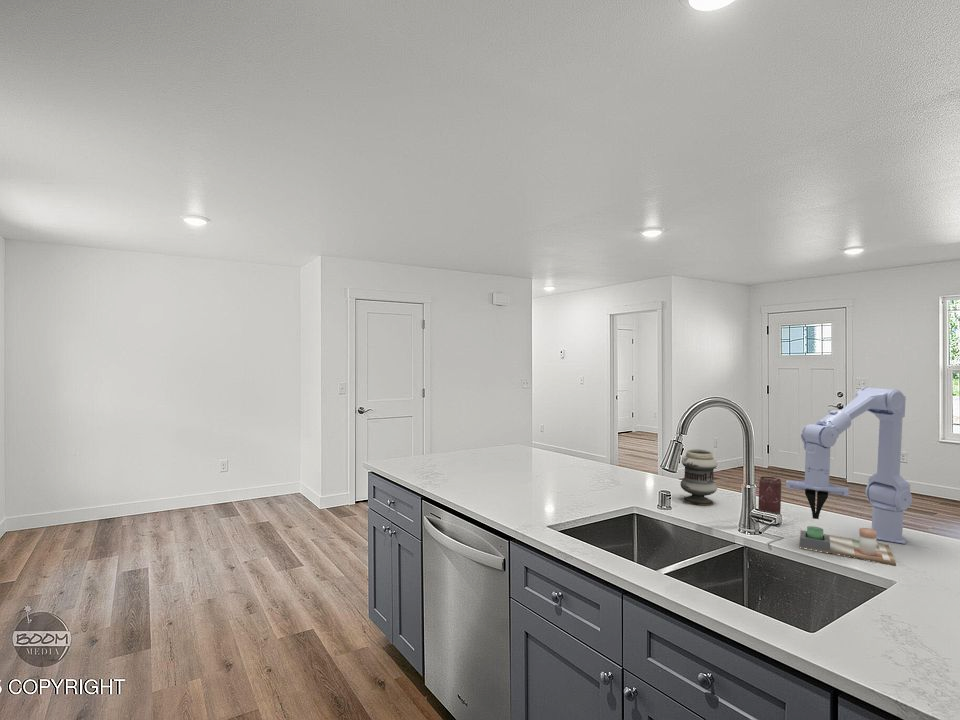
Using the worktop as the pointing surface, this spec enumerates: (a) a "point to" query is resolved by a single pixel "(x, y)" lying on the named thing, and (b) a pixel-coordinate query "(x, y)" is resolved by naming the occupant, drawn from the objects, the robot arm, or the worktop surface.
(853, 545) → the board
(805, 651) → the worktop surface
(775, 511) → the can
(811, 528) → the button
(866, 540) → the marker
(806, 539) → the button housing
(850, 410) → the robot arm
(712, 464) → the apothecary jar
